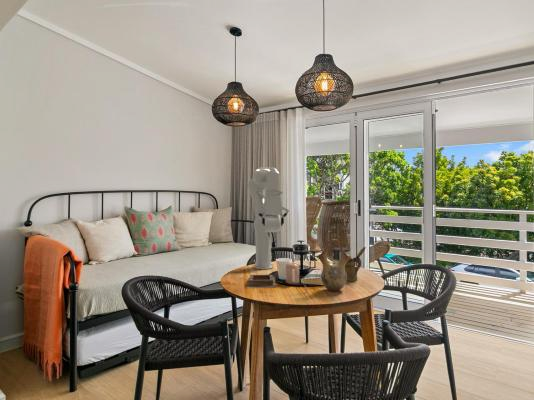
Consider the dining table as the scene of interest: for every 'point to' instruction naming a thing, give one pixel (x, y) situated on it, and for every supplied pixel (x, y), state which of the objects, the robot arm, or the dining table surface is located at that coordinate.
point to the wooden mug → (353, 267)
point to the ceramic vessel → (333, 269)
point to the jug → (292, 273)
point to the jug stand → (261, 281)
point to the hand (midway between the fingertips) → (272, 225)
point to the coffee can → (339, 253)
